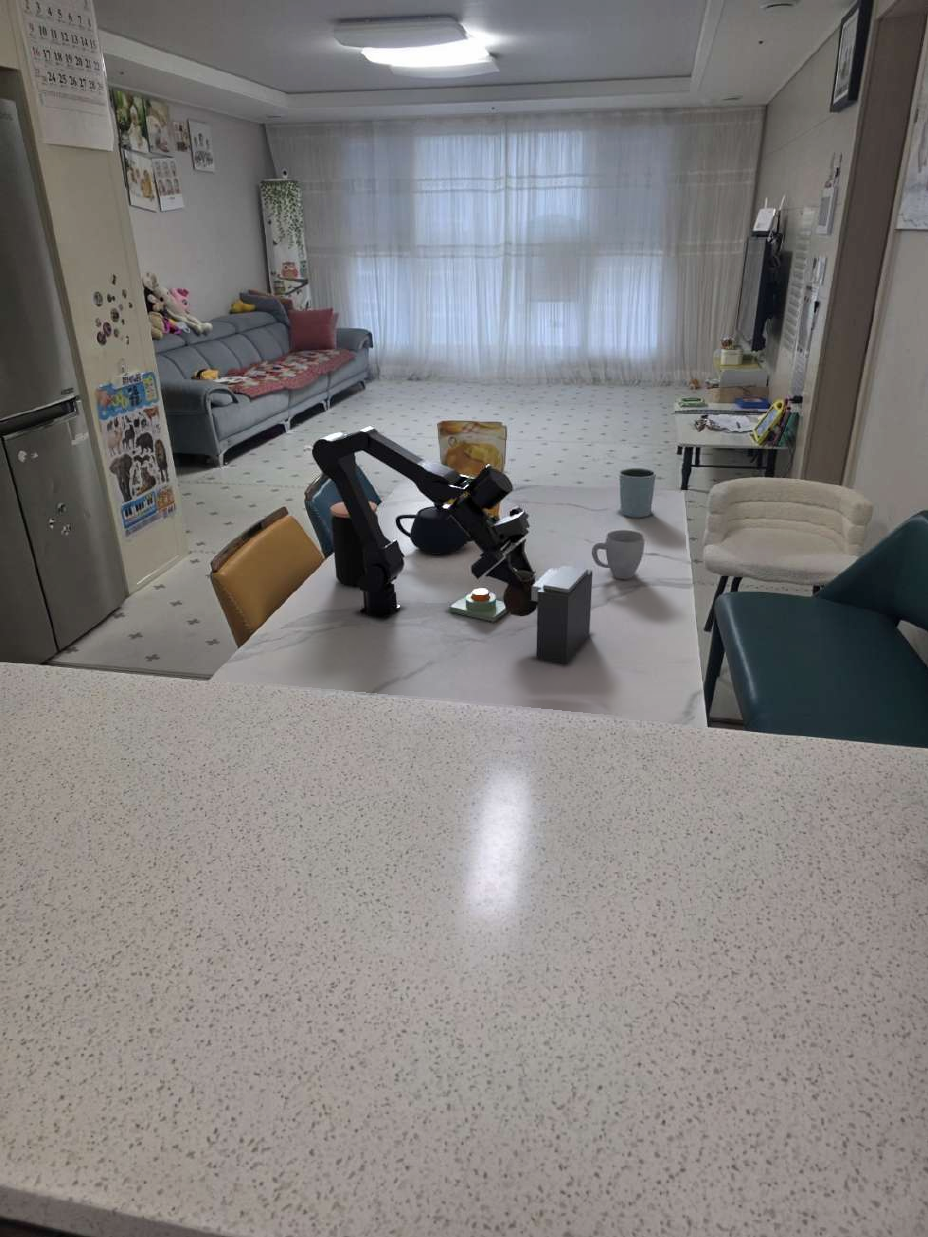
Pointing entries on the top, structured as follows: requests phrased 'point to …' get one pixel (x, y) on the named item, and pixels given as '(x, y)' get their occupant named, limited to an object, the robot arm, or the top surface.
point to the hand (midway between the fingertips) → (528, 583)
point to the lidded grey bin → (562, 612)
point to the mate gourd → (520, 596)
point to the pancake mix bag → (472, 449)
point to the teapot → (434, 531)
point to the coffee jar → (347, 546)
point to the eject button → (480, 595)
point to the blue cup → (636, 491)
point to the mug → (621, 552)
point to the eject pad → (480, 608)
